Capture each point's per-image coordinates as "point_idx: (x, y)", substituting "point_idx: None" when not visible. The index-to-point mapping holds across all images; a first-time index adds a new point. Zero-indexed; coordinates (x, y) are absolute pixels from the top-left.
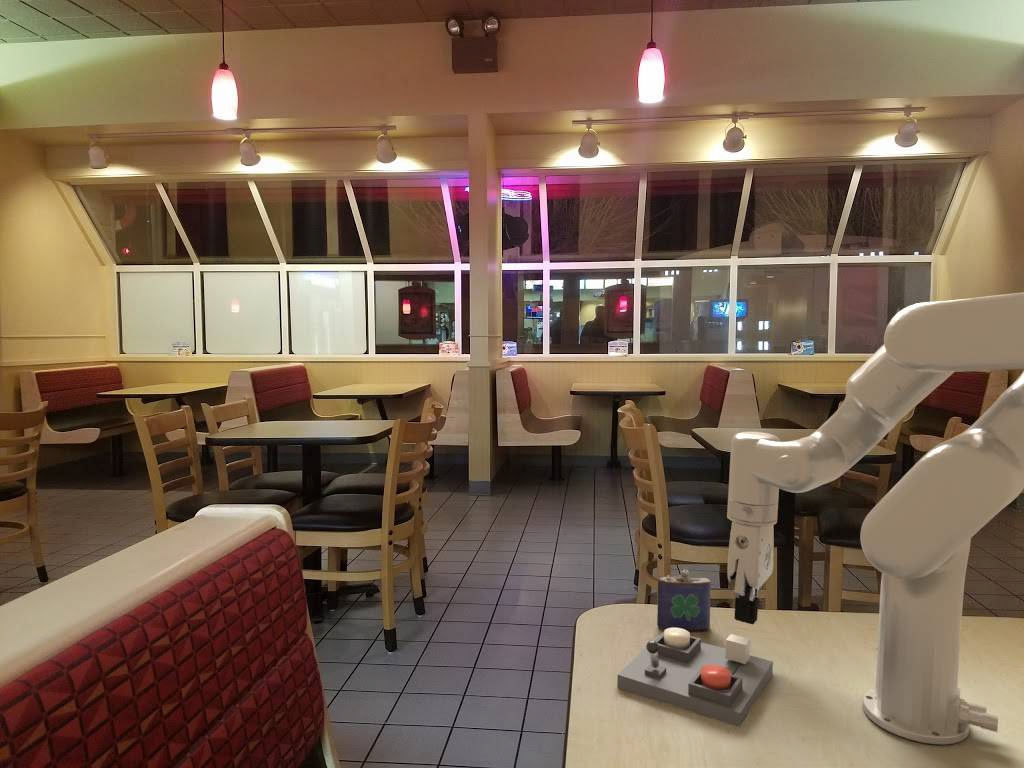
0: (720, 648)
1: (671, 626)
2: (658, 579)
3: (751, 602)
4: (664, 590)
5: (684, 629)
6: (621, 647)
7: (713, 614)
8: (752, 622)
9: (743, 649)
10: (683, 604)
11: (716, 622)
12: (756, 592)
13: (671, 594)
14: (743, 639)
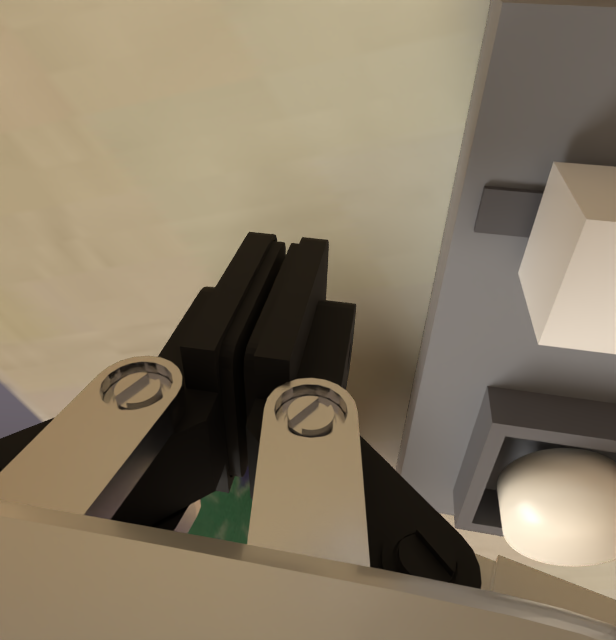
0: (446, 315)
1: None
2: None
3: (295, 377)
4: None
5: (510, 511)
6: (486, 544)
7: (41, 360)
8: (326, 255)
9: None
10: (229, 525)
11: (96, 342)
12: (172, 408)
13: None
14: (612, 262)
